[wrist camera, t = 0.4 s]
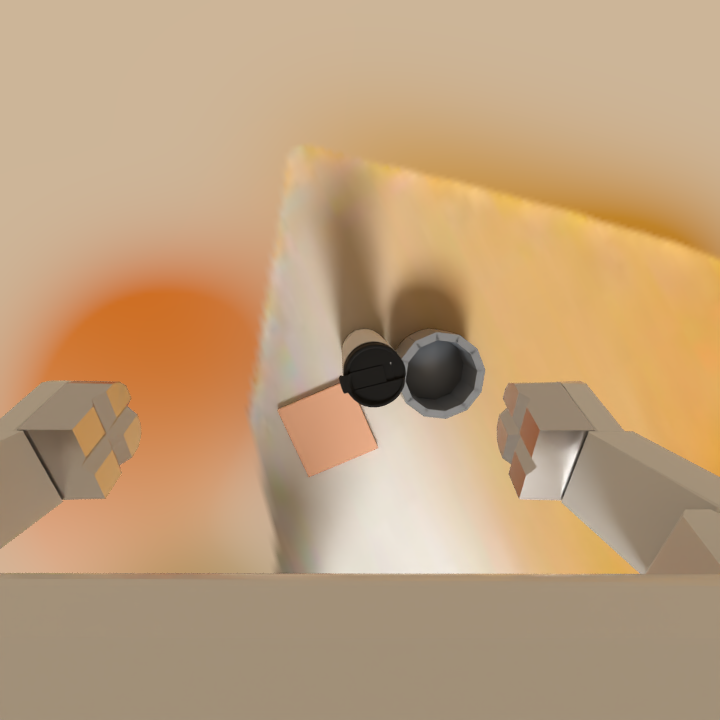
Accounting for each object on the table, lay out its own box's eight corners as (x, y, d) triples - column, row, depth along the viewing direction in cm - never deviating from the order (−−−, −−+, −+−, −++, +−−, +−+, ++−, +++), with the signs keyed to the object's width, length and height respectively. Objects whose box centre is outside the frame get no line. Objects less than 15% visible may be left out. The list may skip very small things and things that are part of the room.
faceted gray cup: (478, 386, 61) (495, 397, 54) (408, 415, 61) (417, 430, 54) (451, 316, 59) (466, 319, 52) (380, 347, 59) (385, 353, 52)
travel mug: (335, 334, 59) (332, 354, 39) (380, 324, 59) (401, 338, 39) (345, 376, 60) (347, 416, 40) (389, 366, 60) (414, 401, 40)
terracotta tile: (377, 446, 61) (378, 448, 61) (309, 474, 62) (308, 477, 61) (348, 379, 60) (348, 380, 59) (278, 408, 60) (277, 410, 59)
